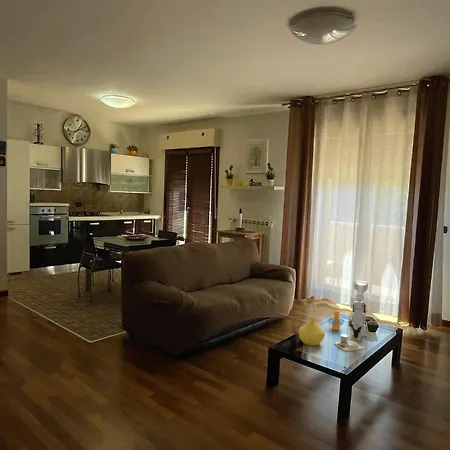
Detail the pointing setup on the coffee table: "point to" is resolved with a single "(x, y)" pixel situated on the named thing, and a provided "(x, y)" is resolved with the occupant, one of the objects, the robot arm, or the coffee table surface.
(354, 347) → the scale
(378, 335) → the coffee table surface
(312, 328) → the vase
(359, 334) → the block
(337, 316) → the orange toy figure
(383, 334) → the coffee table surface
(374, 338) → the coffee table surface
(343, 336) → the block
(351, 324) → the scroll
